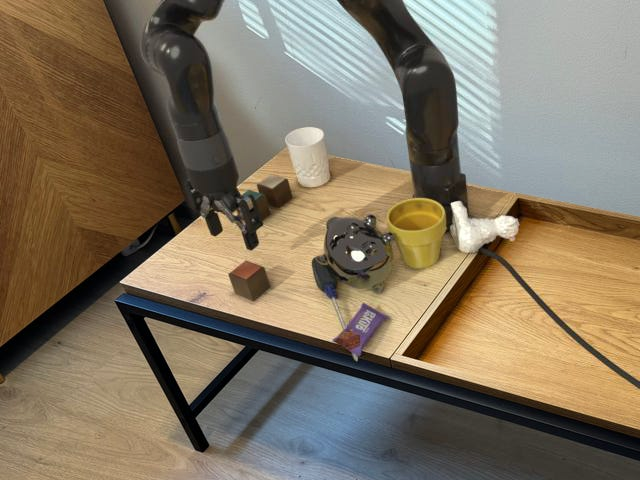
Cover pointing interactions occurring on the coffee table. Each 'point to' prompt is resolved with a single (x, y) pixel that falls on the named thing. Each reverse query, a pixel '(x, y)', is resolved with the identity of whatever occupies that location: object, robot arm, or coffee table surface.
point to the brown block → (275, 190)
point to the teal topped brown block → (258, 204)
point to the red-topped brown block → (249, 280)
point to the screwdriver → (328, 287)
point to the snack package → (360, 329)
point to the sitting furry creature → (479, 229)
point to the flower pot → (418, 230)
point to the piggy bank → (358, 252)
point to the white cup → (309, 156)
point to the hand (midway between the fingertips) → (235, 240)
